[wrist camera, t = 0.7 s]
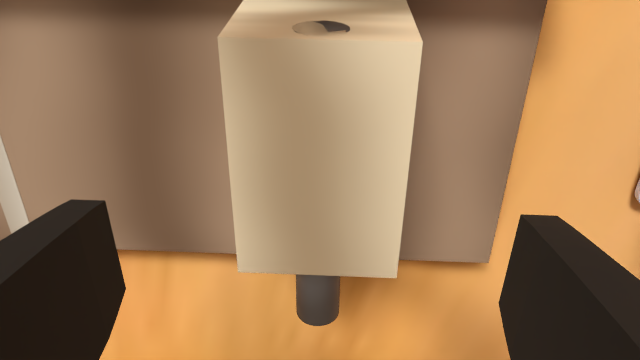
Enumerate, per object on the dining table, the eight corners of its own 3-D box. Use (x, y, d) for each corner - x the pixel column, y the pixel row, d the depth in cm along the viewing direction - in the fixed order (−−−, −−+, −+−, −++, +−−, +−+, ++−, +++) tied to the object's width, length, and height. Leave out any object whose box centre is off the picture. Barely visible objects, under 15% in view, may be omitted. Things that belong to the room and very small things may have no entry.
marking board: (553, -118, 15) (602, -111, 12) (479, 237, 21) (500, 297, 18) (-236, -130, 15) (-367, -126, 12) (-78, 218, 21) (-142, 273, 19)
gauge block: (400, -13, 15) (422, 42, 10) (380, 225, 19) (389, 334, 15) (254, -17, 15) (217, 36, 11) (266, 221, 19) (242, 328, 15)
